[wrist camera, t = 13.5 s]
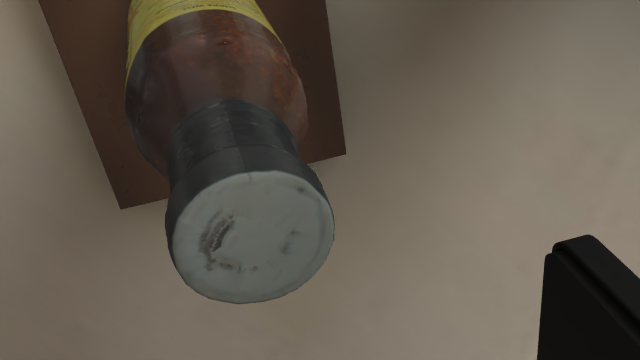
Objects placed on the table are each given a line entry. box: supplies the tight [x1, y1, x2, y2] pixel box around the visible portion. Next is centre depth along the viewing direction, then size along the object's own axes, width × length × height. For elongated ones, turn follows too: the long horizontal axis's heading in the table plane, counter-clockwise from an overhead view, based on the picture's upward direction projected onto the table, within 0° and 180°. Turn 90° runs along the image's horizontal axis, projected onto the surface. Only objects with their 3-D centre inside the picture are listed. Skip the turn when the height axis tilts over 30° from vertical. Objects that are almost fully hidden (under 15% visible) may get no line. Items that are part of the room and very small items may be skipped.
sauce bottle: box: [125, 0, 335, 304], centre depth 22 cm, size 7×6×20 cm
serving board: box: [39, 0, 346, 209], centre depth 31 cm, size 14×20×2 cm
